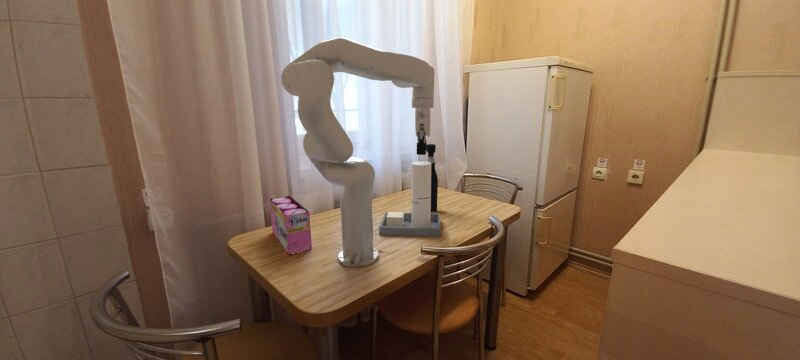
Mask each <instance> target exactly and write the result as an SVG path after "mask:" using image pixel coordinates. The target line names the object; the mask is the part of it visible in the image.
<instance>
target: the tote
mask: <svg viewBox="0 0 800 360" xmlns="http://www.w3.org/2000/svg"><path fill="white" fill-rule="evenodd" d="M388 212H389V211H387V212H386V211H385V213H384V214H383V217H382V219H381V222H380V224H379V227H378V234H379V236H399V237H402V236H403V237H424V238H425V237H427V238H441V237H442V235H441V234H442V231H441V230H442V228H441V227H442V226H441V225H442V224H441V213H431V223H430V228H420V227H412V212H404V226H403V227H389V226H387V221H386V217H387V214H388Z"/></svg>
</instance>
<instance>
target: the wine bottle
mask: <svg viewBox="0 0 800 360" xmlns="http://www.w3.org/2000/svg"><path fill="white" fill-rule="evenodd" d="M436 146H437V145H436V144H433V143H427V149H426V154H427V158H426V162H430V163H431V213H432V212H438V192H439V191H438V187H439V185H438V182H439V181H438V174H437V170H436V162H435V160H436V159H435V153H436V150H437V149H436Z"/></svg>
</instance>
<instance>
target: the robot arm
mask: <svg viewBox="0 0 800 360" xmlns="http://www.w3.org/2000/svg"><path fill="white" fill-rule="evenodd" d="M335 73H345V74H349V75H353V76H357V77H360V78H363V79H367V80H372V81H380V82H385V81H386V82H387V81H390V82H391V83H392V84H393V85H394V86H395V87H397V88H399V89H400V88H401V89H405V88H406V89H408V88H411V108H412V109H414V113H415V114H414V117H415V118H414V120H415V121H414V124H415V125H414V127H415V136H416V139H417V142H416V155H419V156H425V155H427V152H426V150H427V144H428V142H427V141H428V140H427V137H428V138H429V137H430V136H431V120H432V119H431V115H432V114H431V113H432V112H431V109H434V105H435V104H434V102H435V101H434V98H435V68H434V67H433V66H431V65H430V64H429V63H428V62H427V61H426V60H423V59H420V58H418V57H416V56H412V55H407V54H403V53H396V52H391V51H387V50H380V49H377V48H374V47H372V46H369V45H366V44H363V43H360V42H359V41H358V42H357V41H356V40H352V39H350V38H346V37H336V38H332V39H327V40H323V41H319V42H318V43H316V44H315V45H314V46H312V47H311V48H309V49H308V50H307V51H305V52H304V53H302V54H301V55H299V56H298V57H297V58H295V59H294V60H292V61H291V62H289V63H288V64H287V65H286V66H285V67H284V69H283V70H282V72H281V78H280V80H281V84H282V87H283V88H284V90H285V91H286V92H287V93H288V94H290V95H292V96H293V97H297V114H298V115H297V116H298V118H299V119H298V120H299V121H300V123H301V125H302V128H303V129H304V130H305V132H306V133H305V135H304V137H303V140H302V146H303V151H304V153H305V155H306V156H307V158H308V159H309V161H310V162H311V163H312V164H313V166H314V167H315V168H316V169H317V171H318V172H319V174H321V176H322V177H323V178H324V179H325V181H327V182H328V183H330V184H332V185H334V186H337V187H339V188H343V192H342V195H341V198H340V208H339V209H340V220H341V222H340V224H341V238H342V239H341V241H342V245H341V246H342V250H341V251H340V252H338V254H337V259H338V262H339V263H340V264H341V265H343V266H345V267H354V268H355V267H356V268H358V267H365V266H369V265H372V264H373V263H375V262H376V261H377V260H378V259H379V257H380V256H379V251H378V250H377V249H376V248H375V247H374V224H373V223H374V219H373V218H374V217H373V193H374V192H373V191H374V185H375V180H376V179H375V178H376V173H375V168H374V166H373V165H372V164H371V163H370V162H369V161H367V160H365V159H364V158H360V157H354V156H353V153H354V146H353V142H352V140H351V139H350V136H349V135H348V133H346V130H344V128H343V126H342V125H341V123H340V121H339V120H338V119H337V116H336V115H335V113H334V112H333V109H332V105H331V97H332V92H333V89H334V84H335V75H334V74H335Z"/></svg>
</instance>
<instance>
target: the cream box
mask: <svg viewBox="0 0 800 360" xmlns="http://www.w3.org/2000/svg"><path fill="white" fill-rule="evenodd" d="M387 212H388V214H387V217H386V221H387V226H389V227H403V226H404V213H405V211H387Z"/></svg>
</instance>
